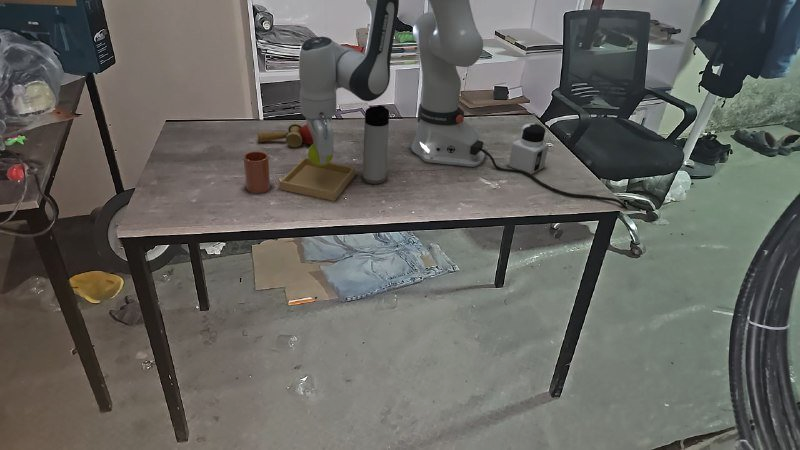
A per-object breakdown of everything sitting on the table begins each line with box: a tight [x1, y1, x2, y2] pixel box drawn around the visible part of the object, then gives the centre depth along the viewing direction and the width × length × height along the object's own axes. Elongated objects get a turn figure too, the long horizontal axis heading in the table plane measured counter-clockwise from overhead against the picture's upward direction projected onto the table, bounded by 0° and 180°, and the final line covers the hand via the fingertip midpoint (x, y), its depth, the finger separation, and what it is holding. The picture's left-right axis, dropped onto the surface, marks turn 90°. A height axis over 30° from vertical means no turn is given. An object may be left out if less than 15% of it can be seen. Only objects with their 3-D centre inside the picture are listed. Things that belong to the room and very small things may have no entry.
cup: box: [243, 150, 271, 194], centre depth 143 cm, size 6×6×9 cm
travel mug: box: [362, 104, 390, 185], centre depth 149 cm, size 6×7×20 cm
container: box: [508, 123, 550, 175], centre depth 163 cm, size 8×8×13 cm
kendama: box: [257, 122, 313, 148], centre depth 168 cm, size 8×6×18 cm
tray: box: [279, 157, 356, 202], centre depth 150 cm, size 15×15×2 cm
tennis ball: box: [307, 143, 334, 166], centre depth 146 cm, size 6×6×6 cm
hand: (320, 156), depth 147 cm, fingers closed on tennis ball, 6 cm apart
